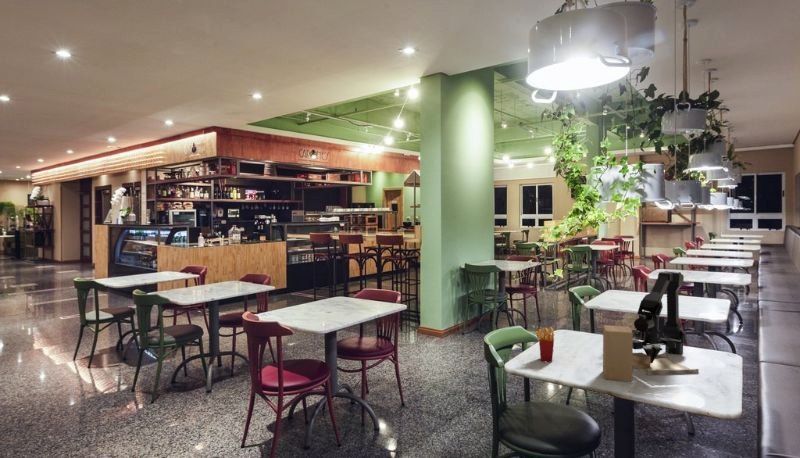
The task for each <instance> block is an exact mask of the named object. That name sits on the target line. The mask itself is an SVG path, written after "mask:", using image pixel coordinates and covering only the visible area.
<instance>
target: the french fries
mask: <svg viewBox="0 0 800 458" xmlns="http://www.w3.org/2000/svg"><path fill="white" fill-rule="evenodd" d="M549 329H550V331H551V332H549ZM549 329H548V328H547V327H544V328H541V329H540V328H539V329H537V330H536V331H535V334H536V336H537V337H538V343H539V354H540V361H541V362H544V361H546V362H547V363H552V362H553V355H554V343H555V338H554V336H555V334H554V333H555V331H554V329H553V326H550V327H549Z"/></svg>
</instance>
